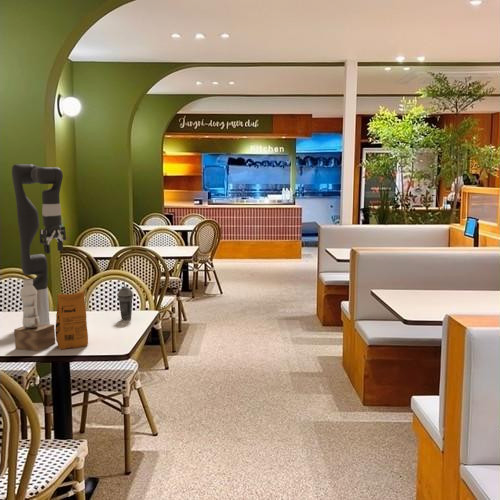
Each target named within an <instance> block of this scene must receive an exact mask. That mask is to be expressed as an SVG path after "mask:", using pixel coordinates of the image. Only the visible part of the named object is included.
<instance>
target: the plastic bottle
mask: <svg viewBox="0 0 500 500" xmlns="http://www.w3.org/2000/svg"><path fill="white" fill-rule="evenodd" d="M32 284H33V278H25V279H23V280H22V285H23V287H22V288H21V290H20V293H19V296H20V299H21V304H22V305H21V306H22V311H23V312H22V325H23V326H24V327H25V328H35V327H38V326H39V322H40V320H39V316H38V312H37V290H36V289H35V287H34V286H33V285H32ZM23 326H22V327H23Z"/></svg>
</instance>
